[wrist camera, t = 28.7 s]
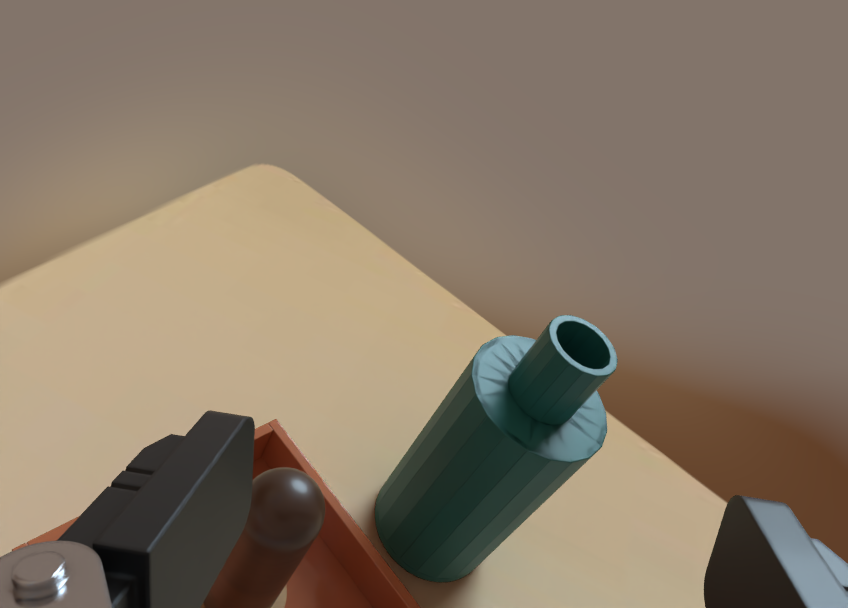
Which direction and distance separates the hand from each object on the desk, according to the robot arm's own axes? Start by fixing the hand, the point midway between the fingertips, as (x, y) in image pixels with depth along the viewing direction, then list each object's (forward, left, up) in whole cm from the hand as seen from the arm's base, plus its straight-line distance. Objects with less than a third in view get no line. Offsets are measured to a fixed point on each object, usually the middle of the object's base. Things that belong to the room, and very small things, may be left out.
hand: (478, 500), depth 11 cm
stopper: (-5, -6, -27) cm, 28 cm away
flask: (-19, -3, -27) cm, 33 cm away
